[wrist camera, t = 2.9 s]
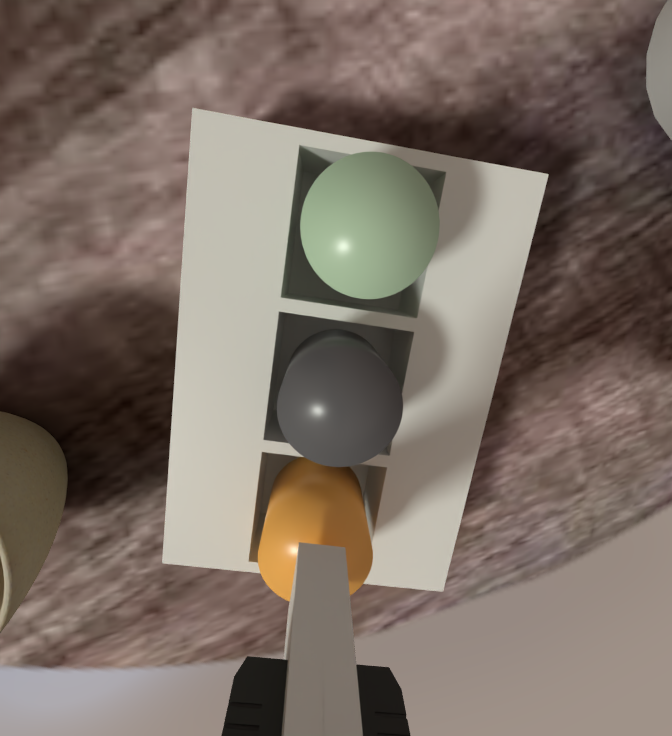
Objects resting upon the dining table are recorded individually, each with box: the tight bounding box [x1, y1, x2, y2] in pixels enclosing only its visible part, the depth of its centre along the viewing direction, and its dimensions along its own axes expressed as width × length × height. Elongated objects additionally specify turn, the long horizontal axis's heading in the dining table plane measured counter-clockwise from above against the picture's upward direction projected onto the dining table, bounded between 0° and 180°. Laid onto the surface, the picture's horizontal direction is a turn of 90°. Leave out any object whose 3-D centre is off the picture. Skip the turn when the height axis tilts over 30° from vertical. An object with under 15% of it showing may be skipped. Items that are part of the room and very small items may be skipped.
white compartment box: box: [162, 108, 549, 592], centre depth 17 cm, size 17×12×4 cm
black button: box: [277, 329, 403, 467], centre depth 15 cm, size 4×4×4 cm
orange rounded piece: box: [258, 457, 373, 601], centre depth 16 cm, size 4×4×4 cm
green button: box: [300, 152, 440, 299], centre depth 13 cm, size 4×4×4 cm
